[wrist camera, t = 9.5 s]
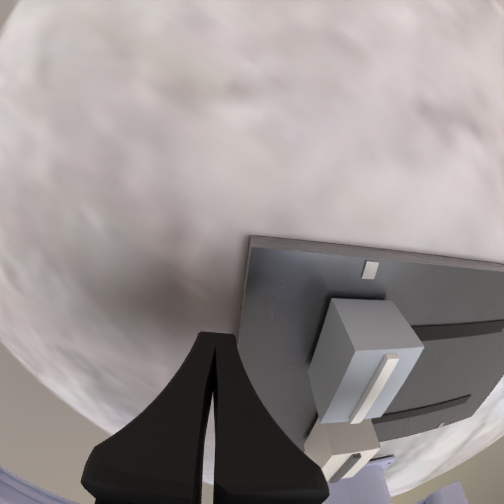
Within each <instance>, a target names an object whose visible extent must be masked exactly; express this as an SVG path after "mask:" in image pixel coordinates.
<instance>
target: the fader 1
mask: <svg viewBox="0 0 504 504" xmlns="http://www.w3.org/2000/svg"><path fill="white" fill-rule="evenodd" d="M423 349H424V345H423V344H422V342H421V341H420V339H419V338H418V336H417V335H416V333H415V332H414V331H413V329H412V328H411V326H410V325H409V323H408V322H407V321H406V319H405V318H404V316H403V315H402V314H401V312H400V311H399V309H398V308H397V307H396V305H395V304H394V302H393V301H389V300H360V299H338V298H331V302H330V305H329V308H328V312H327V315H326V318H325V322H324V325H323V328H322V331H321V334H320V337H319V340H318V343H317V346H316V349H315V352H314V355H313V358H312V361H311V364H310V367H309V370H308V374H309V379H310V383H311V387H312V391H313V395H314V399H315V404H316V408H317V412H318V417H319V421H320V424H322V423H335V422H346V421H349V422H350V424H356V423H361V421H362V420H363V419H370V418H377V417H381V416H382V415H383V413H384V412H385V410H386V409H387V407H388V406H389V405H390V403H391V402H392V400H393V399H394V397H395V396H396V394H397V393H398V391H399V389H400V388H401V386H402V385H403V383H404V381H405V380H406V378H407V377H408V375H409V373H410V372H411V370H412V368H413V367H414V365H415V363H416V361H417V360H418V358H419V356H420V354H421V352H422V351H423Z"/></svg>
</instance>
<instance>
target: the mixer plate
mask: <svg viewBox="0 0 504 504" xmlns="http://www.w3.org/2000/svg"><path fill="white" fill-rule="evenodd" d="M331 298H338V299H360V300H389V301H393V302H394V304H395V305H396V307H397V308H398V309H399V311H400V312H401V314H402V315H403V316H404V318H405V319H406V321H407V322H408V323H409V325H410V326H411V328H412V329H413V331H414V332H415V333H416V335H417V336H418V338H419V339H420V341H421V342H422V344H423V345H424V349H423V351H422V352H421V354H420V356H419V358H418V360H417V361H416V363H415V365H414V367H413V368H412V370H411V372H410V373H409V375H408V377H407V378H406V380H405V381H404V383H403V385H402V386H401V388H400V389H399V391H398V393H397V394H396V396H395V397H394V399H393V400H392V402H391V403H390V405H389V406H388V407H387V409H386V410H385V412H384V413H383V415H382V416H381V417H377V418H371V421H372V424H373V427H374V430H375V432H376V435H377V438H378V441H379V442H382V441H387V440H392V439H397V438H401V437H405V436H410V435H414V434H418V433H421V432H425V431H429V430H432V429H436V428H440V427H442V426H445V425H448V424H452V423H455V422H457V421H460V420H463V419H466V418H469V417H471V416H472V415H473V414H474V413H475V412H476V410H477V409H478V408H479V407H480V405H481V404H482V403H483V402H484V401H485V399H486V398H487V397H488V395H489V394H490V393H491V392H492V390H493V389H494V388H495V386H496V385H497V384H498V382H499V381H500V379H501V378H502V377H503V375H504V264H498V263H490V262H483V261H475V260H468V259H460V258H452V257H444V256H436V255H428V254H420V253H411V252H403V251H394V250H386V249H377V248H368V247H359V246H350V245H341V244H332V243H322V242H313V241H303V240H293V239H283V238H273V237H263V236H253V235H250V242H249V250H248V258H247V266H246V275H245V283H244V291H243V299H242V308H241V316H240V324H239V333H238V341H237V349H238V352H239V355H240V358H241V361H242V364H243V366H244V368H245V371H246V373H247V375H248V378H249V380H250V382H251V384H252V386H253V387H254V389H255V391H256V393H257V395H258V397H259V398H260V400H261V402H262V403H263V405H264V406H265V408H266V409H267V411H268V412H269V414H270V415H271V416H272V418H273V419H274V420H275V422H276V423H277V424H278V425H279V427H280V428H281V429H282V430H283V431H284V432H285V434H286V435H287V436H288V437H289V438H290V439H291V440H292V441H293V442H294V444H295V445H296V446H297V447H298V448H299V449H300V450H301V451H303V452H305V449H304V443H305V442H306V440H307V438H308V436H309V434H310V432H311V431H312V429H313V427H314V425H315V423H316V421H317V419H318V412H317V408H316V404H315V399H314V395H313V391H312V387H311V383H310V379H309V374H308V370H309V367H310V364H311V361H312V358H313V355H314V352H315V349H316V346H317V343H318V340H319V337H320V334H321V331H322V328H323V325H324V322H325V318H326V315H327V312H328V308H329V305H330V302H331Z"/></svg>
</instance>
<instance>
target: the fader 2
mask: <svg viewBox="0 0 504 504" xmlns="http://www.w3.org/2000/svg"><path fill="white" fill-rule="evenodd" d="M380 448H381V447H380V444H379V441H378V438H377V435H376V432H375V430H374V427H373V424H372V421H371V418H370V419H363V420H362V421H361V423H356V424H350V422H349V421H346V422H335V423H322V424H320V421H319V417H318V419H317V421H316V423H315V425H314V427H313V429H312V431H311V432H310V434H309V436H308V438H307V440H306V442H305V443H304V449H305V454H306V455H307V456H308V457H309V458H310V459H311V460H313V461H314V462H315V463H316V464H317V465H319V466H320V467H321V469H322V472H323V474H324V476H325V478H326V481H330V483H336V482H338V481H339V480H340V479H344V478H350V477H353V476H354V475H355V474H356V473H357V472H358V471H359V470H360V469H361V468H362V467H363V466H364V465H365V464H366V463H367V462H368V461H369V460H370V459H371V458H372V457H373V456H374V455H375V454H376V453H377V451H378V450H379V449H380Z"/></svg>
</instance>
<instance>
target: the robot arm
mask: <svg viewBox="0 0 504 504" xmlns="http://www.w3.org/2000/svg"><path fill="white" fill-rule="evenodd" d="M212 394H213V398H214V421H215V466H214V493H213V495H214V496H213V504H392V501H391V497H390V494H389V490H388V487H387V484H386V481H385V477H384V474H383V471H384V470H385V469H386V468H387V467H388V466H389V465H390V464H391V463H393V462H394V461H395V456H392V457H388V458H383V459H379V460H374V461H369V462H367V463H366V464H365V465H364V466H363V467H362V468H361V469H360V470H359V471H358V472H357V473H356V474H355V475H354V476H353V477H350V478H344V479H340V480H339V481H338V482H336V483H330V481H326V478H325V476H324V474H323V472H322V469H321V467H320V466H319V465H317V464H316V463H315V462H314V461H313V460H311V459H310V458H309V457H308V456H307V455H306V454H305V453H304V452H303V451H301V450H300V449H299V448H298V447H297V446H296V445H295V444H294V442H293V441H292V440H291V439H290V438H289V437H288V436H287V435H286V434H285V432H284V431H283V430H282V429H281V428H280V427H279V425H278V424H277V423H276V422H275V420H274V419H273V418H272V416H271V415H270V414H269V412H268V411H267V409H266V408H265V406H264V405H263V403H262V402H261V400H260V398H259V397H258V395H257V393H256V391H255V389H254V387H253V386H252V384H251V382H250V380H249V378H248V375H247V373H246V371H245V368H244V366H243V364H242V361H241V358H240V355H239V352H238V349H237V345H236V340H235V336H234V335H233V334H224V333H212V332H202V331H201V332H200V333H198V336H197V338H196V341H195V343H194V345H193V347H192V349H191V350H190V352H189V354H188V356H187V357H186V359H185V361H184V362H183V364H182V365H181V367H180V368H179V370H178V371H177V373H176V374H175V375H174V377H173V378H172V379H171V381H170V382H169V383H168V385H167V386H166V387H165V388H164V390H163V391H162V392H161V393H160V394H159V395H158V396H157V398H156V399H155V400H154V401H153V402H152V403H151V404H150V405H149V406H148V407H147V408H146V409H145V410H144V411H143V412H142V413H140V414H139V415H138V416H137V417H136V418H135V419H134V420H132V421H131V422H130V423H129V424H127V425H126V426H125V427H124V428H122V429H121V430H120V431H118V432H117V433H116V434H114V435H113V436H111V437H109V438H108V439H106V440H105V441H103V442H102V443H100V444H98V445H97V446H95V447H94V449H93V450H92V452H91V454H90V456H89V458H88V460H87V462H86V465H85V467H84V471H83V475H82V478H81V484H82V485H83V487H84V488H85V489H86V490H87V491H88V492H89V493H91V495H93V496H94V497H95V498H96V501H95V504H201V496H202V474H203V455H204V442H205V434H206V428H207V423H208V417H209V411H210V406H211V400H212ZM0 504H79V503H76V502H74V501H71V500H69V499H66V498H64V497H61V496H59V495H56V494H54V493H52V492H49V491H47V490H45V489H43V488H40V487H38V486H36V485H34V484H32V483H30V482H28V481H26V480H25V479H23V478H21V477H19V476H17V475H15V474H13V473H12V472H10V471H8V470H6V469H5V468H3V467H1V466H0ZM412 504H468V502H467V499H466V496H465V494H464V491H463V489H462V486H461V484H460V482H459V481H456V482H454V483H452V484H450V485H448V486H446V487H443V488H441V489H439V490H437V491H435V492H433V493H432V494H430V495H428V496H427V497H426V498H425V499H423V500H420V501H418V502H415V503H412Z"/></svg>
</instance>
